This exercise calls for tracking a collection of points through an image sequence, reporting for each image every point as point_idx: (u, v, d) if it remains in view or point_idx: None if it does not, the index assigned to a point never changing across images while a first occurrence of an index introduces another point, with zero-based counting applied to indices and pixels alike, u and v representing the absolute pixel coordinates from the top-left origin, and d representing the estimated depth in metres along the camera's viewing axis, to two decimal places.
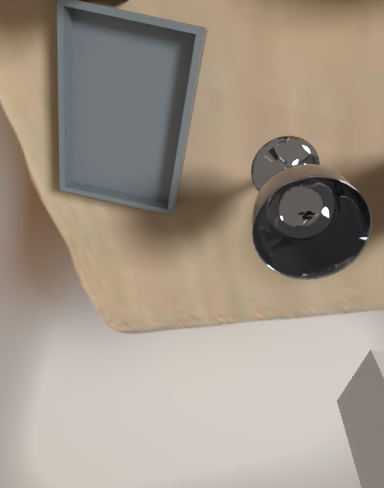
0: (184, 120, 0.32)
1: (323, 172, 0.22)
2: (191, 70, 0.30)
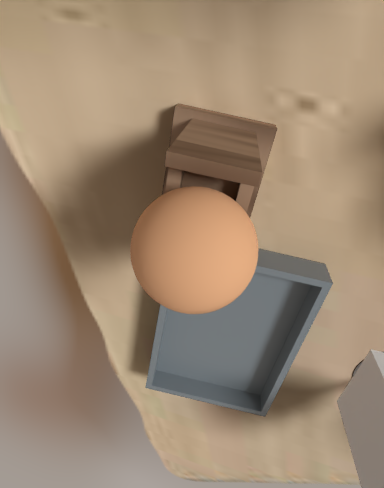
0: (294, 349, 0.30)
1: None
2: (311, 313, 0.28)
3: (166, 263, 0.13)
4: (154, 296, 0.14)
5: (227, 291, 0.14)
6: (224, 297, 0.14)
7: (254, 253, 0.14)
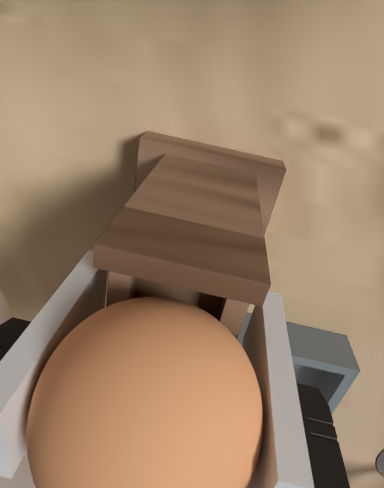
0: None
1: None
2: (329, 404, 0.21)
3: None
4: None
5: None
6: None
7: (256, 444, 0.08)
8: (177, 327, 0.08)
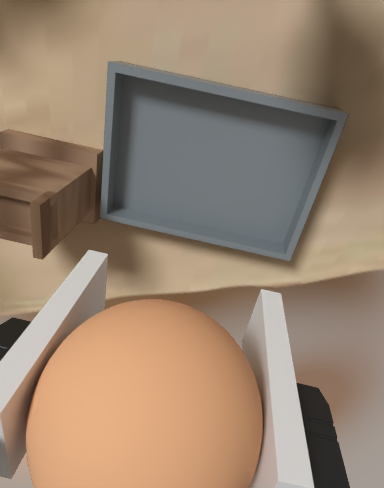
0: (209, 89, 0.24)
1: None
2: (152, 78, 0.25)
3: None
4: None
5: None
6: None
7: (255, 448, 0.08)
8: (176, 330, 0.08)
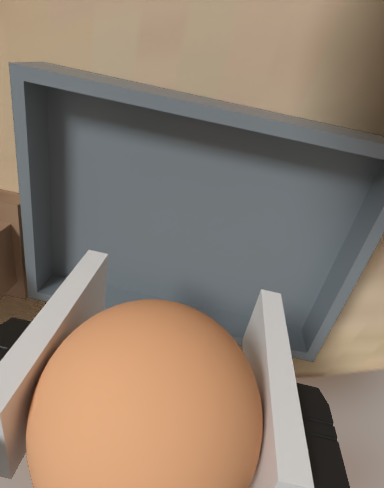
0: (185, 110, 0.14)
1: None
2: (86, 91, 0.14)
3: None
4: None
5: None
6: None
7: (255, 448, 0.07)
8: (176, 330, 0.08)
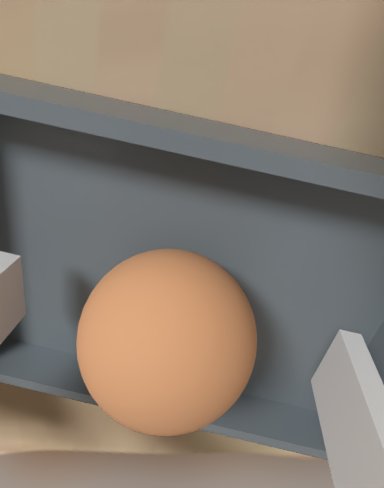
0: (164, 141, 0.09)
1: None
2: (14, 112, 0.09)
3: (118, 381, 0.09)
4: None
5: (211, 414, 0.09)
6: (207, 421, 0.10)
7: (251, 352, 0.10)
8: (191, 264, 0.10)
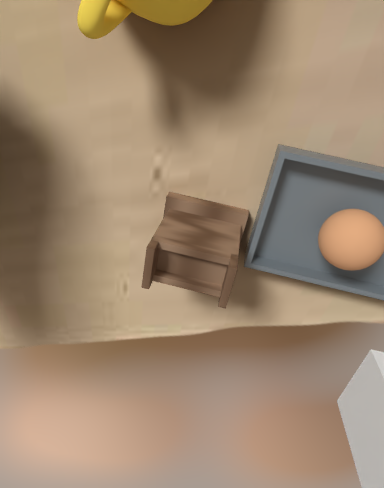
0: (362, 172, 0.30)
1: None
2: (315, 163, 0.31)
3: (351, 243, 0.30)
4: (338, 260, 0.31)
5: (376, 257, 0.30)
6: (373, 260, 0.30)
7: None
8: (366, 212, 0.31)
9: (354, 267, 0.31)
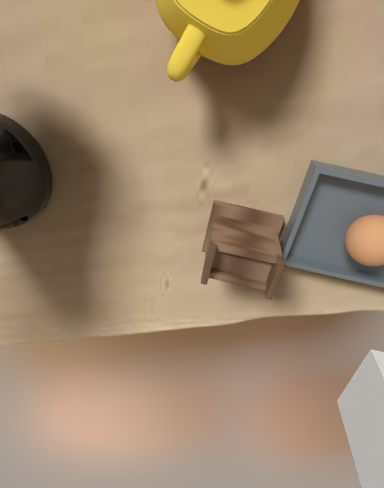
0: None
1: None
2: (345, 177, 0.37)
3: (376, 244, 0.36)
4: (363, 258, 0.37)
5: None
6: None
7: None
8: None
9: (377, 263, 0.37)
